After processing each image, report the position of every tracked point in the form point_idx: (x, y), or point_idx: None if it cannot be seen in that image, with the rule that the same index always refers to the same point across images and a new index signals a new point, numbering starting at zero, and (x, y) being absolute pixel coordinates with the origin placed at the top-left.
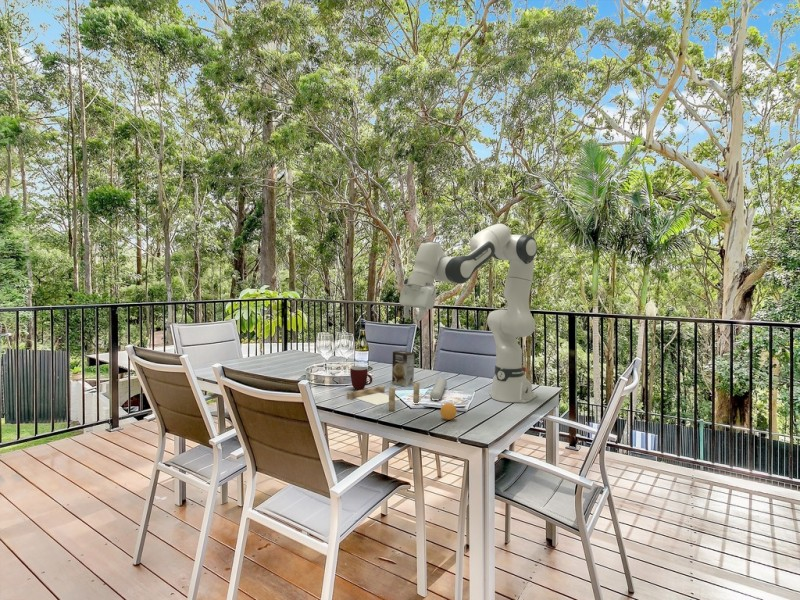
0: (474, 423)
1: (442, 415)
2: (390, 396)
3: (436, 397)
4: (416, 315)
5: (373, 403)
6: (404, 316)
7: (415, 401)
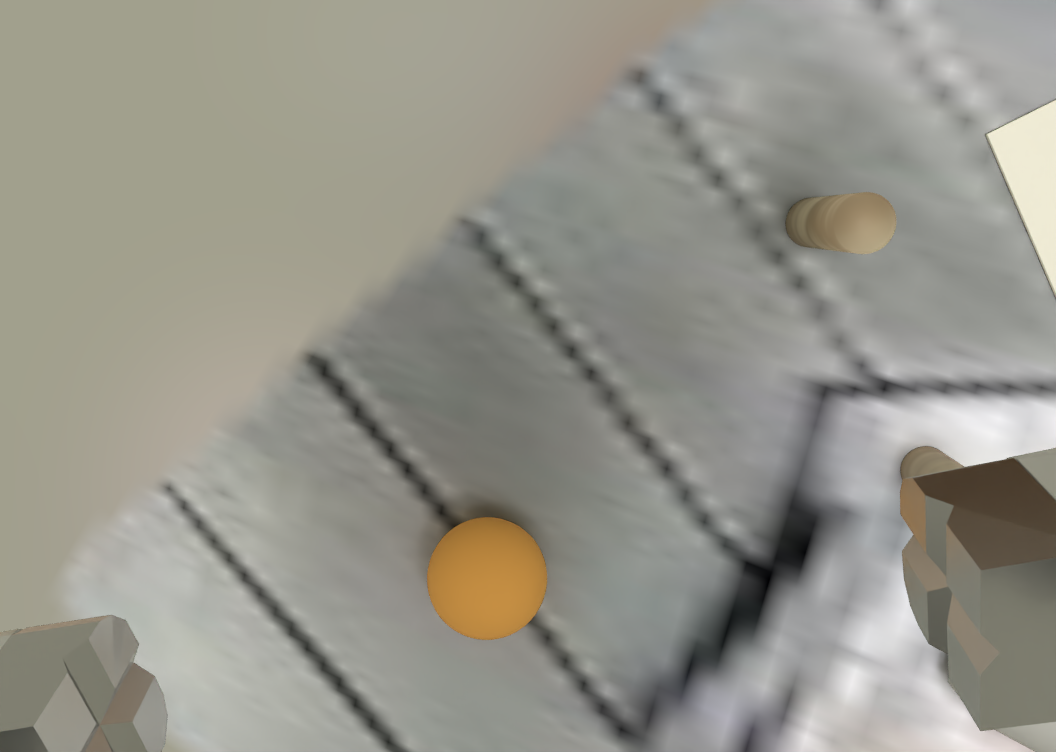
0: (376, 683)
1: (475, 518)
2: (824, 202)
3: None
4: (46, 695)
5: (1041, 117)
6: (958, 470)
7: (914, 463)
